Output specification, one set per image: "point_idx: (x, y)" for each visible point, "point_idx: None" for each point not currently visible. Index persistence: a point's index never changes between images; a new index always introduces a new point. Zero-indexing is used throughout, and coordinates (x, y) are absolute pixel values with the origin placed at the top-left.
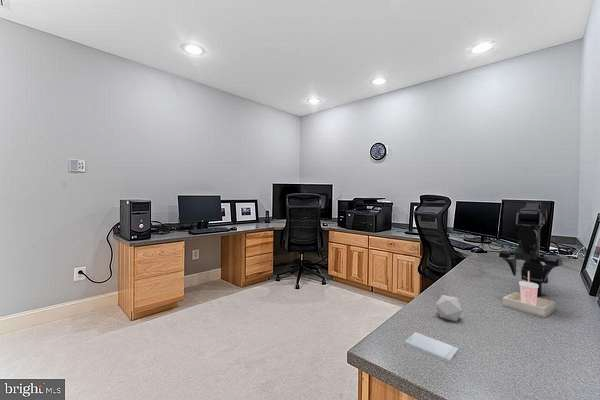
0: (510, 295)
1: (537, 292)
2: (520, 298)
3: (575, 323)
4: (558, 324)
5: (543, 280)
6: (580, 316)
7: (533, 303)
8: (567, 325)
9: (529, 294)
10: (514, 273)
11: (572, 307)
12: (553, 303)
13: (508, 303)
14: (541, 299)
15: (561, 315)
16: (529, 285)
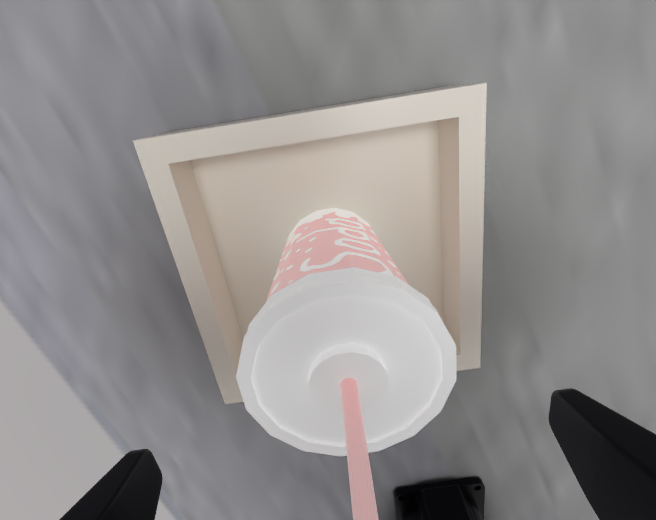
0: (465, 235)
1: (416, 518)
2: None
3: (54, 246)
4: (55, 103)
5: (120, 470)
6: (135, 390)
7: (285, 248)
8: (31, 150)
9: (299, 253)
10: (590, 423)
11: (237, 480)
12: (213, 365)
13: (416, 92)
14: None
15: (173, 310)
16: (290, 300)
